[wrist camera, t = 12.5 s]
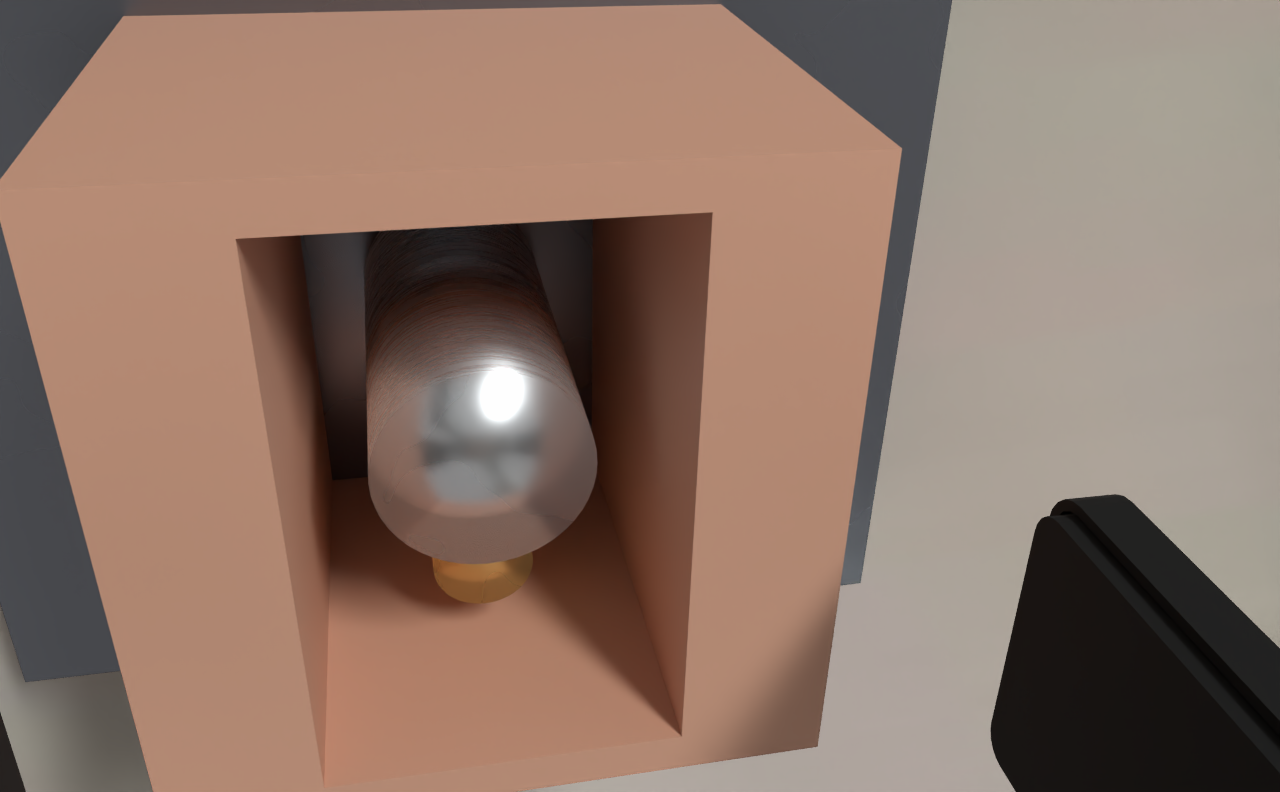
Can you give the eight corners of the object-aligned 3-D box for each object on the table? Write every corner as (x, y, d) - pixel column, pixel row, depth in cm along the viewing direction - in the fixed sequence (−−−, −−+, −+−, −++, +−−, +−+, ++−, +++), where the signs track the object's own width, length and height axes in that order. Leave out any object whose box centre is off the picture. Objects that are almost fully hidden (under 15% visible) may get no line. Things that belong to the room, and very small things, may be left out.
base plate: (823, 518, 23) (987, 801, 17) (52, 600, 20) (-72, 971, 14) (922, -239, 16) (1246, -209, 10) (-199, -269, 14) (-626, -253, 8)
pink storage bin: (123, 16, 14) (-8, 190, 9) (721, 4, 15) (902, 148, 10) (220, 518, 18) (167, 844, 13) (694, 471, 19) (817, 746, 14)
